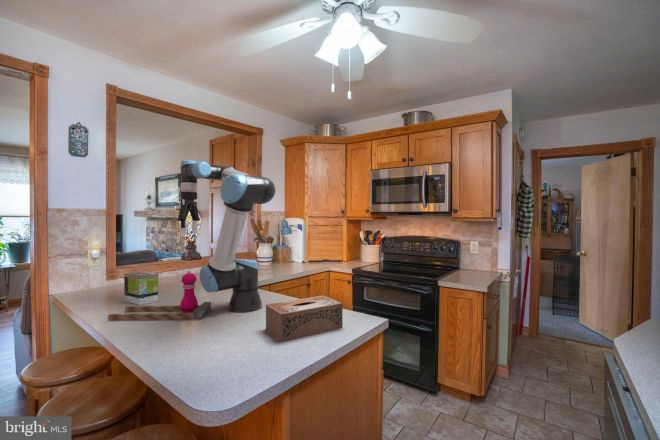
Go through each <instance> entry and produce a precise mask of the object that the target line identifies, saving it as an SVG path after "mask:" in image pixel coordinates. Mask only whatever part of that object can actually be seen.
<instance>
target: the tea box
mask: <svg viewBox="0 0 660 440" xmlns="http://www.w3.org/2000/svg"><path fill="white" fill-rule="evenodd" d="M123 277H124V280H123V281H124V282H123V283H124V292H123V293H124V296H123V297H124V302H126V303H129V304H134V305H136V306H144V305H148V304H152V303H157V302H158V301H159V273H158V272H153V271H145V270H139V271H132V272H126V273H124V275H123Z"/></svg>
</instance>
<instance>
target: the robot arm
mask: <svg viewBox="0 0 660 440" xmlns="http://www.w3.org/2000/svg"><path fill="white" fill-rule="evenodd" d="M179 168H180V185H179V186H180V191H181V192H180V199H181V200H180V207H179V213H178V216H177V221H178V222H180V223H179V224H180V235H181V236H184V235H185V236H187V235H188V221H187V218H188V215H189V214H190V216H191V234H198V233H199V231H198V221H200V216H199V210H198V203H197V201H196V200H198V180H199V179H203V180H213V181H222V183H221V186H220V199H221V200H222V202H223V206H224V207H225V212H224V215H223V220H222V223H221V227H220V231H219V236H218V239H217V241H216V246H215V250H214V254H213V256H212V257H210V258H209V259H208V261H207V265H202V267H200V270H199V279H200V283H201V286H202V288H203V289H204V290H205V292H207V293H217V292H221V291H227V290H231V289H232V293H231V297H230V300H229V303H228V310H229V311H231V312H234V313H247V312H248V313H249V312H254V311H257V310H260V309H262V306H263V304H262V303H263V302H262V298H261V296H260V293H259V264H258V262H257V260H254V259H247V258H236V255H237V250H238V247H239V244H240V241H241V237H242V234H243V230H244V226H245V222H246V219H247V215H248V214H249V213H251V212H252V211H253V208H254V205H264V204H268V203H269V202H271V201H272V200H273V198H274V197H275V195H276V186H275V183H274V182H273V180H271V179H270V178H268V177H265V176H259V175H251V174H249V173H246V172H242V171H240V170H237V169H235V168H234V167H231V166H228V165H217V164H214V163H208V162H206V161H196V160H191V159H183V160H182V161H180V167H179Z"/></svg>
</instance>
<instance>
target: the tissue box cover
mask: <svg viewBox="0 0 660 440" xmlns="http://www.w3.org/2000/svg"><path fill="white" fill-rule="evenodd" d="M340 328H341V329H343V303H342V302H340V301H338V300H336V299H333V298H331V297H328V296H326V295H319V296H318V295H317V296H311V297H305V298H299V299H293V300H286V301H281V302H280V301H279V302H272V303H266V304H265V330H266V331H267V332H268V333H270V335H272V336H273V337H274V338H275V339H276V340H277V341H279V342H280V343H283V342H284V343H285V342H289V341H293V340H297V339H298V340H299V339H302V338H306V337H310V336H315V335H319V334H324V333H327V332H331V330H332V331H337V330H340ZM336 329H337V330H336ZM323 332H324V333H323Z"/></svg>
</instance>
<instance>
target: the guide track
mask: <svg viewBox="0 0 660 440" xmlns="http://www.w3.org/2000/svg"><path fill="white" fill-rule="evenodd" d="M182 311H183V310H182V309H181V308H180V304H177V305H173V304H172V305H127V306H124V313H110V314H109V313H108V315H107V321H108V322H115V321H118V322H120V321H123V322H124V321H127V322H128V321H181V320H182V321H185V320H186V321H187V320H188V321H189V320H190V321H191V320H193V321H194V320H199V321H200V320H202V319H204V318H205V316H207V315H208V314H209V313H210V312H211V311H212V301H204V302H202V303H201V304H198V306H197V308H196V309H194V313H181V312H182Z"/></svg>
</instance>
